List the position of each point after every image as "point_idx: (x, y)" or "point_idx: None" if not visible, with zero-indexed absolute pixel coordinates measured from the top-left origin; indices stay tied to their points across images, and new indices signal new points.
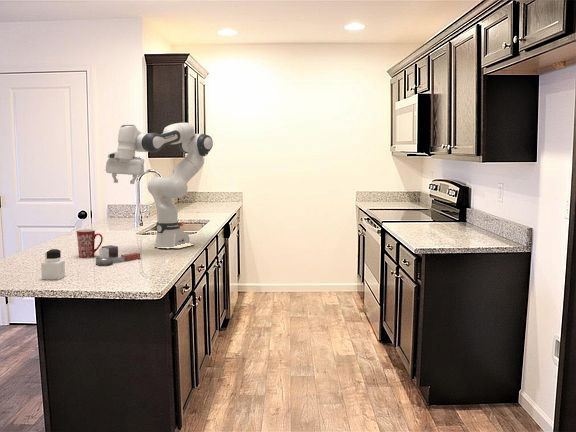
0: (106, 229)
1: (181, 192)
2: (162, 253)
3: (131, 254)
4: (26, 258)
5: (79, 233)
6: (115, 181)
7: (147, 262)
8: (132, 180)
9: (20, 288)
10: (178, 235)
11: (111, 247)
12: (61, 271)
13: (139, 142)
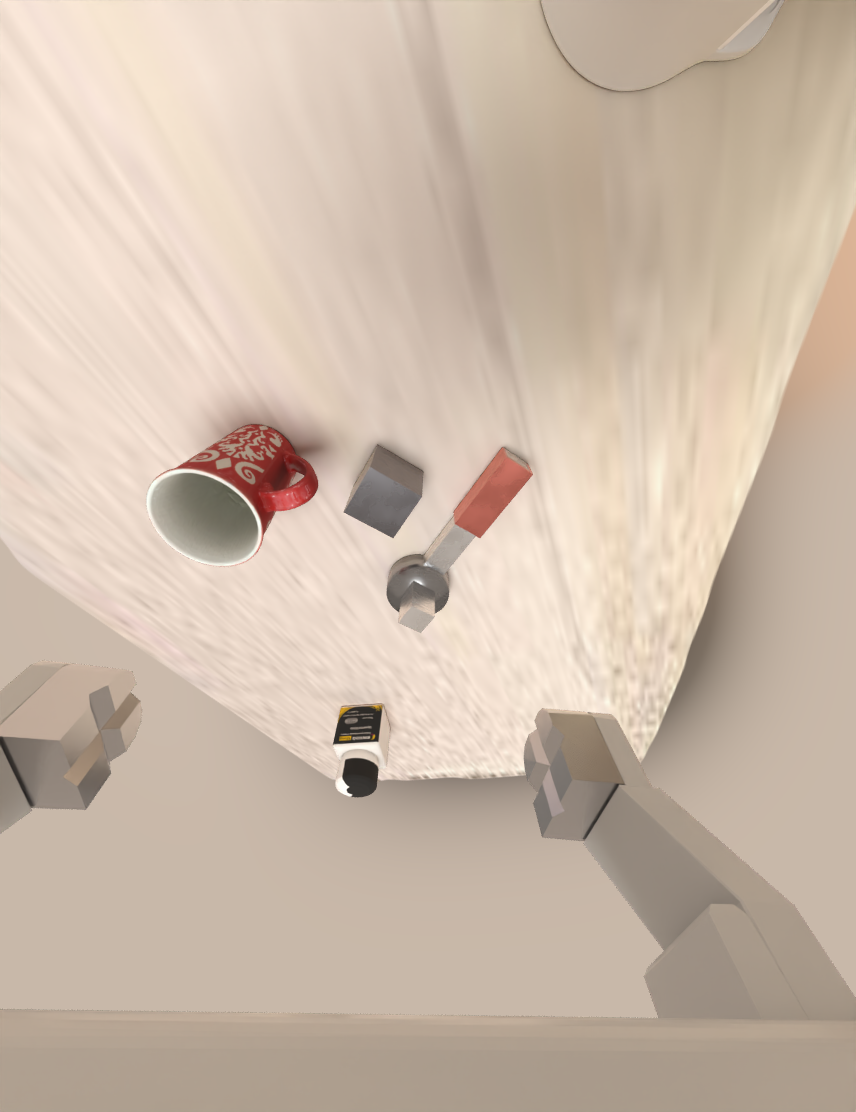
0: None
1: None
2: (624, 277)
3: (497, 505)
4: (70, 537)
5: (209, 555)
6: (107, 746)
7: (572, 522)
8: (602, 839)
9: None
10: None
11: (401, 523)
12: (386, 733)
13: None
